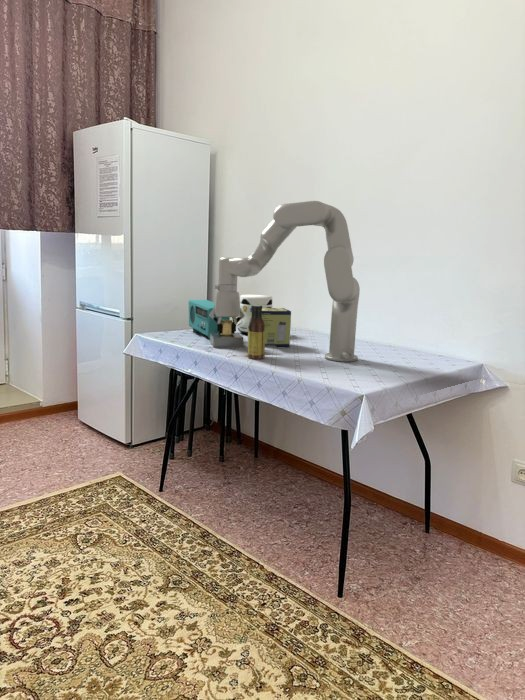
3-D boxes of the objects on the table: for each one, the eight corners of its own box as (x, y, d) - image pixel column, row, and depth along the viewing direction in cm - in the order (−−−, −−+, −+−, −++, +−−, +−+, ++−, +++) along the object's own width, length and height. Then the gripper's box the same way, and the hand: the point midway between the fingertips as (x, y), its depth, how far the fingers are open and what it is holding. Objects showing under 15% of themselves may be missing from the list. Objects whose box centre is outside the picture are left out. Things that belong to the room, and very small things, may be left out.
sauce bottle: (256, 355, 204) (258, 303, 200) (267, 358, 200) (269, 305, 196) (243, 357, 200) (245, 304, 196) (255, 360, 195) (257, 306, 191)
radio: (186, 330, 257) (186, 299, 255) (206, 330, 261) (207, 299, 259) (206, 343, 227) (207, 308, 224) (229, 342, 231) (230, 307, 228)
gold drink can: (232, 345, 217) (233, 321, 215) (221, 345, 216) (221, 321, 214) (231, 343, 222) (231, 319, 220) (219, 343, 221) (220, 319, 219)
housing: (243, 349, 215) (243, 337, 214) (213, 349, 212) (213, 337, 211) (238, 344, 226) (238, 332, 225) (209, 344, 224) (210, 332, 223)
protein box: (248, 343, 230) (249, 307, 227) (283, 343, 234) (284, 307, 231) (254, 347, 220) (255, 310, 217) (290, 347, 224) (292, 310, 221)
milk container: (229, 332, 257) (230, 295, 254) (256, 329, 269) (257, 293, 265) (253, 337, 245) (254, 298, 241) (280, 334, 256) (282, 297, 253)
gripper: (207, 288, 209) (206, 334, 213) (250, 289, 213) (248, 335, 216) (205, 287, 216) (204, 331, 220) (246, 288, 220) (245, 332, 223)
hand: (226, 332), depth 218 cm, fingers closed on gold drink can, 4 cm apart
